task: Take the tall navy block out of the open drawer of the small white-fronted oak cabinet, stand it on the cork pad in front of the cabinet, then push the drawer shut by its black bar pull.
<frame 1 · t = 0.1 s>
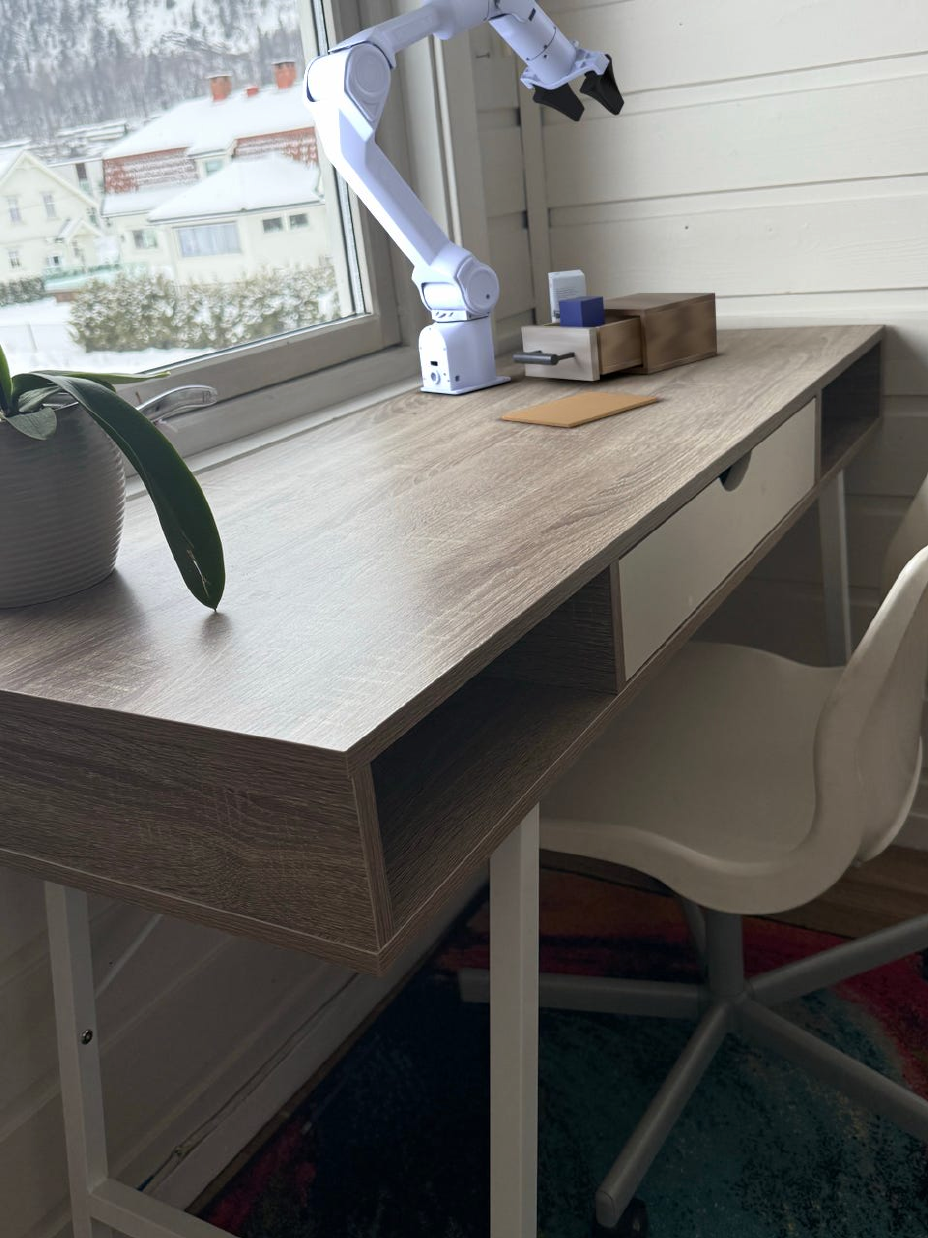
hand: (599, 111, 157), 32 cm above the table, tool tilted 50°, fingers open, 7 cm apart
navy block: (585, 362, 148), point 2 cm above the table, touching drawer
drawer: (579, 347, 146), point 4 cm above the table, slide at 8.0 cm, touching navy block
cork pad: (579, 410, 130), on the table
ink box: (572, 357, 166), on the table
cabinet: (645, 362, 154), on the table
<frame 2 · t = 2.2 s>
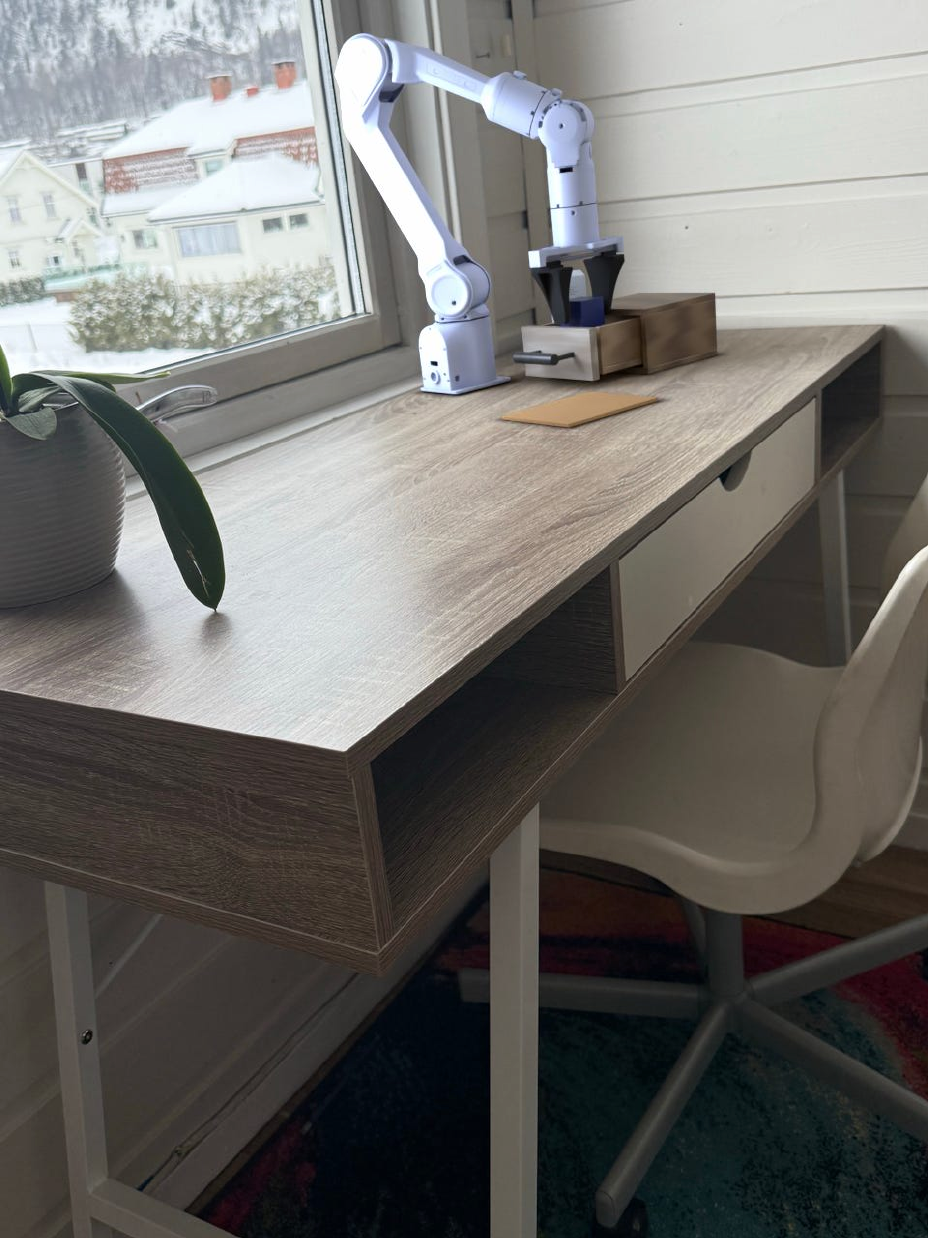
hand: (582, 318, 146), 7 cm above the table, tool pointing down, fingers open, 7 cm apart
nothing on the table moved.
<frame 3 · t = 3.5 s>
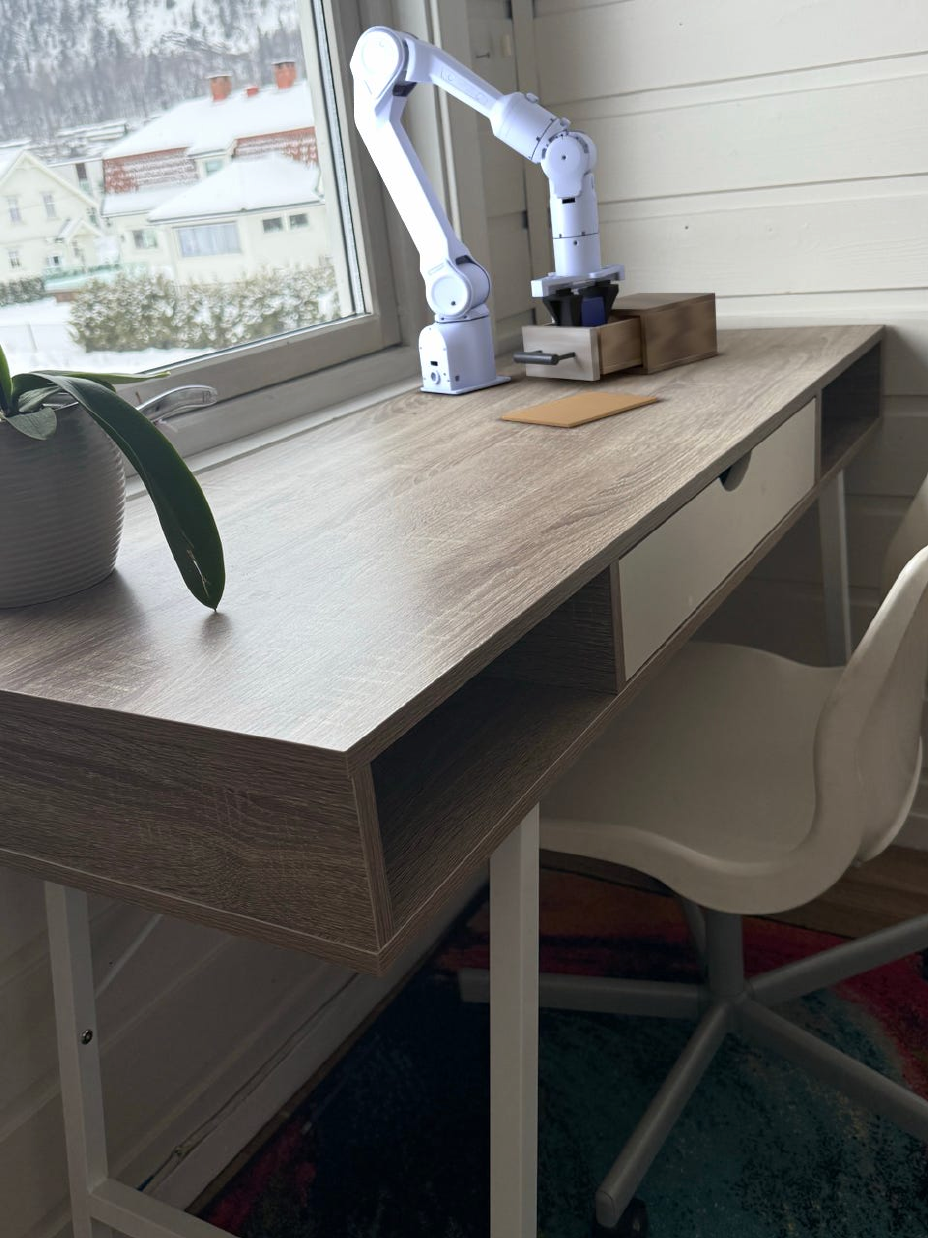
hand: (584, 346, 147), 4 cm above the table, tool pointing down, fingers closed on navy block, 4 cm apart
navy block: (585, 362, 148), point 2 cm above the table, touching drawer, gripper
everything else where it was.
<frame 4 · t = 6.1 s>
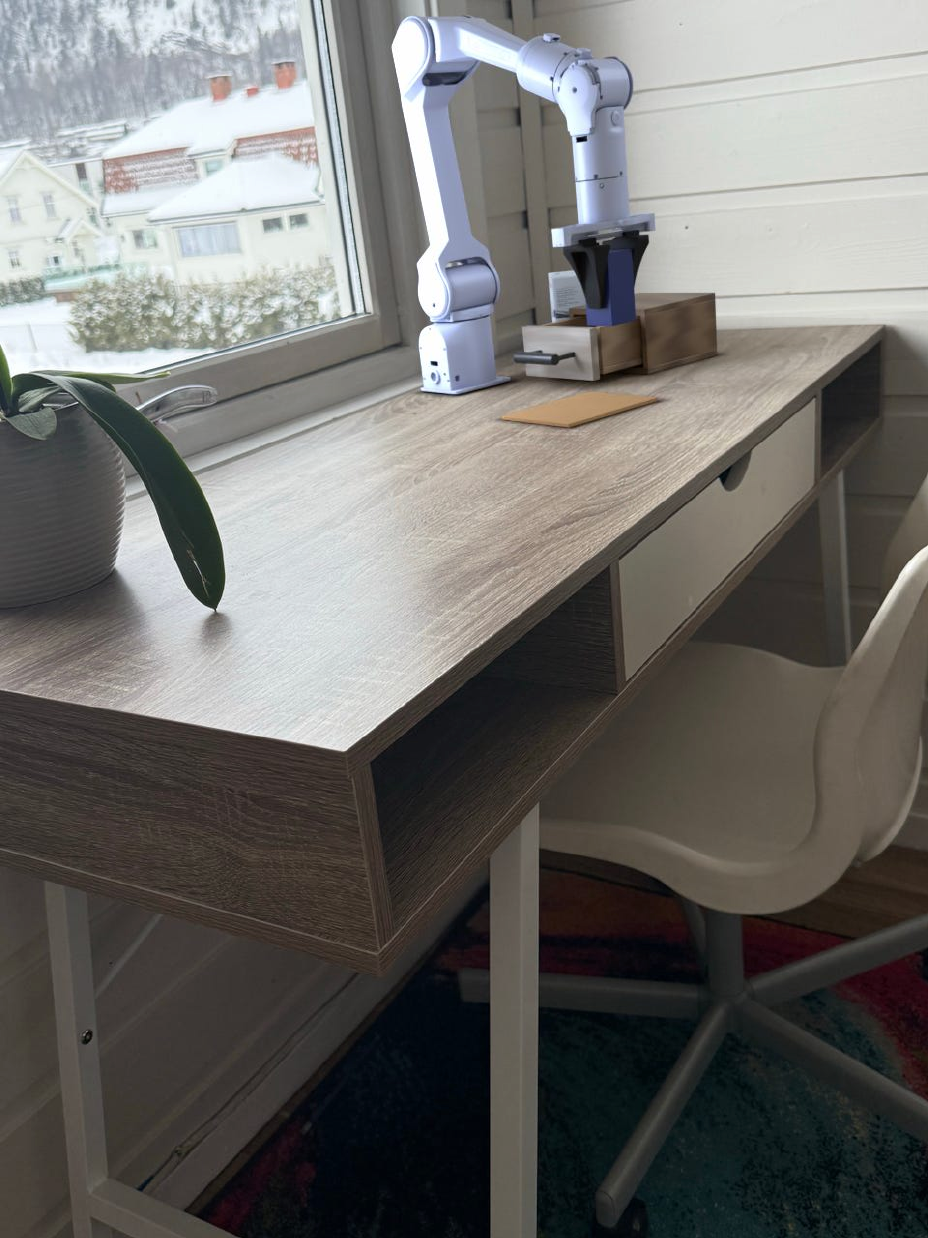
hand: (610, 305, 131), 10 cm above the table, tool pointing down, fingers closed on navy block, 4 cm apart
navy block: (611, 323, 132), point 8 cm above the table, touching gripper
drawer: (580, 347, 147), point 4 cm above the table, slide at 7.9 cm
everything else where it was.
when the fingers open (2 cm above the table, at t = 9.2 s): navy block stays where it is, resting on cork pad.
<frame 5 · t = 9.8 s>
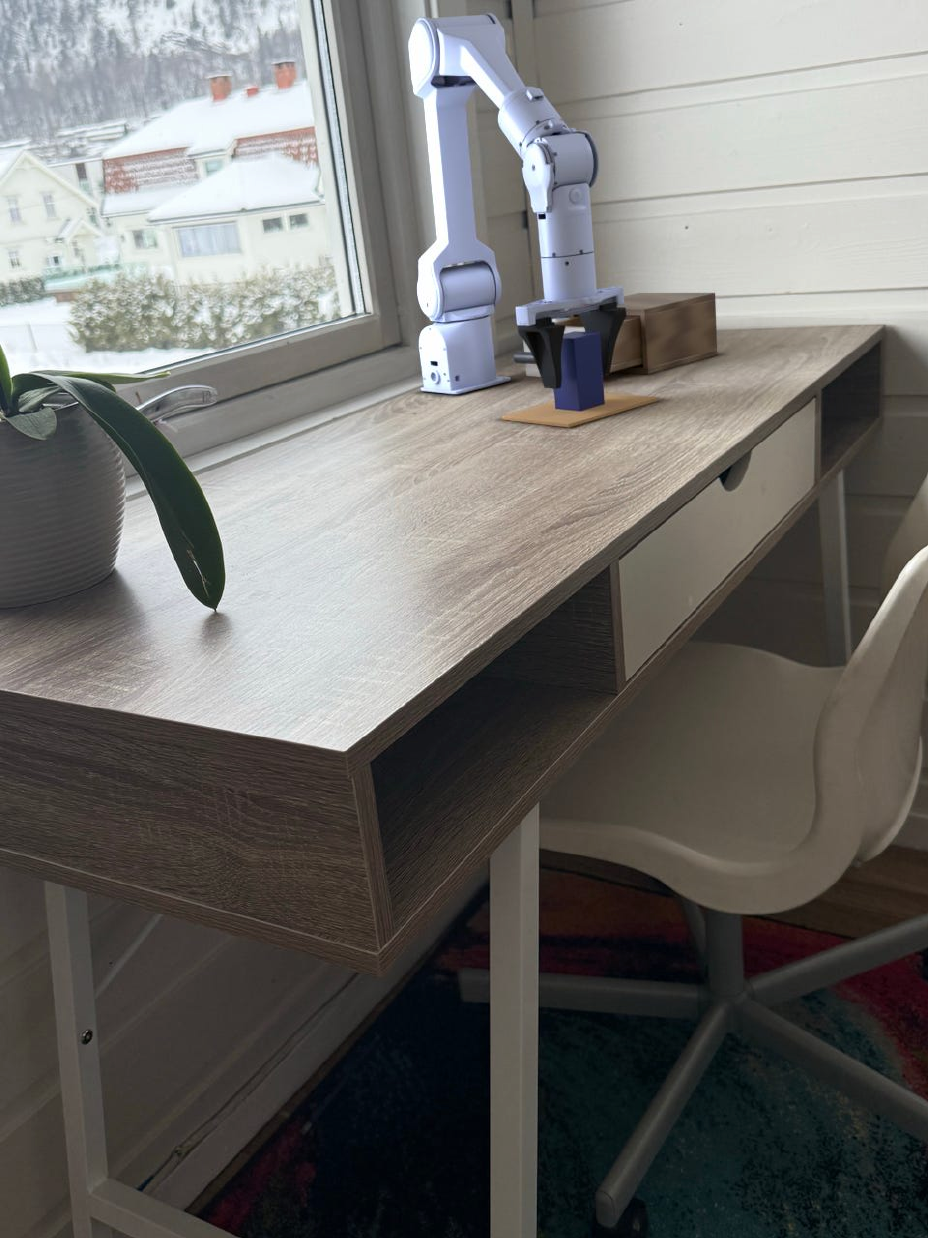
hand: (577, 380, 128), 3 cm above the table, tool pointing down, fingers open, 7 cm apart
navy block: (580, 406, 129), resting on cork pad
everything else where it was.
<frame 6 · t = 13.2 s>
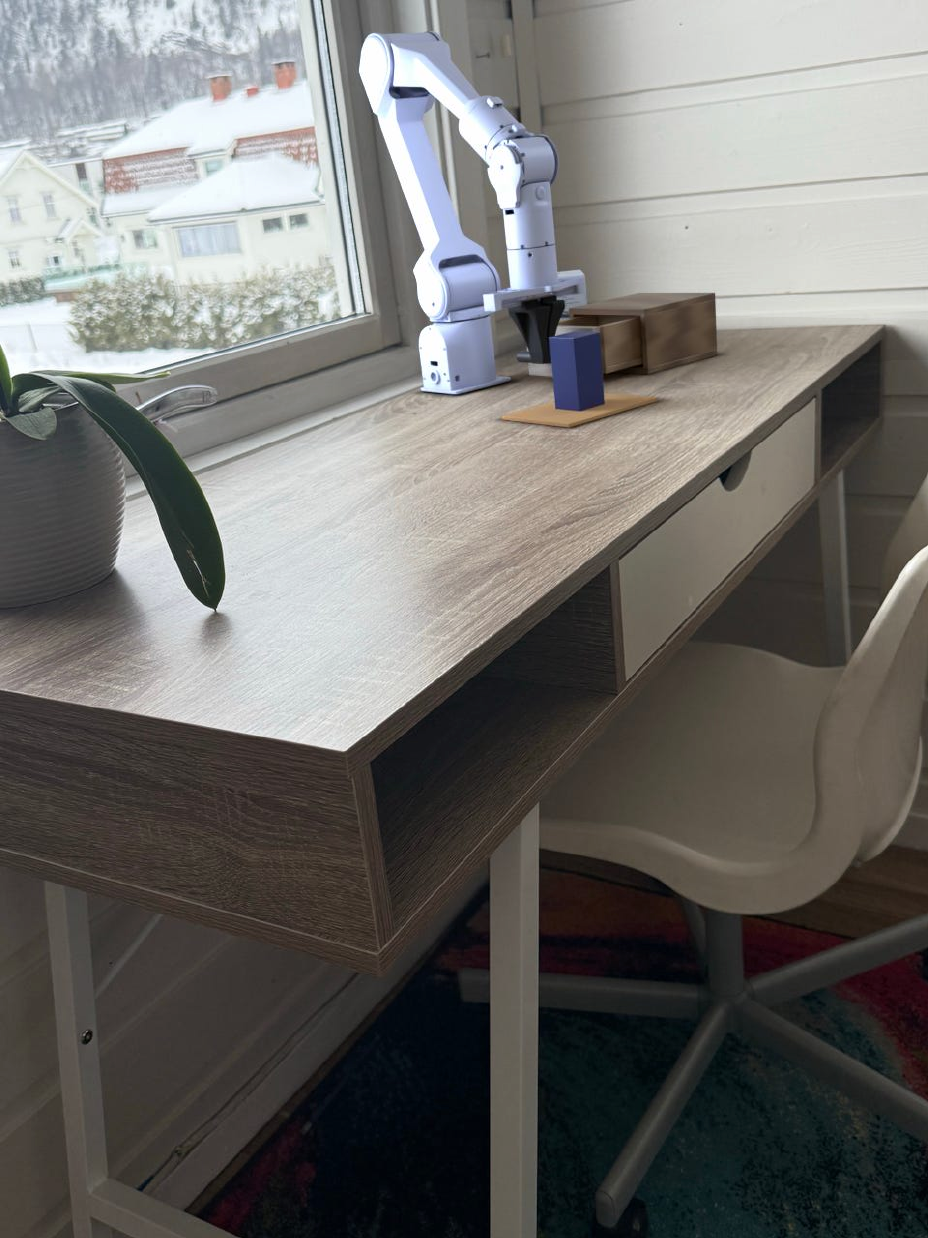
hand: (541, 362, 140), 4 cm above the table, tool pointing down, fingers closed
drawer: (583, 346, 147), point 4 cm above the table, slide at 7.4 cm
everything else where it was.
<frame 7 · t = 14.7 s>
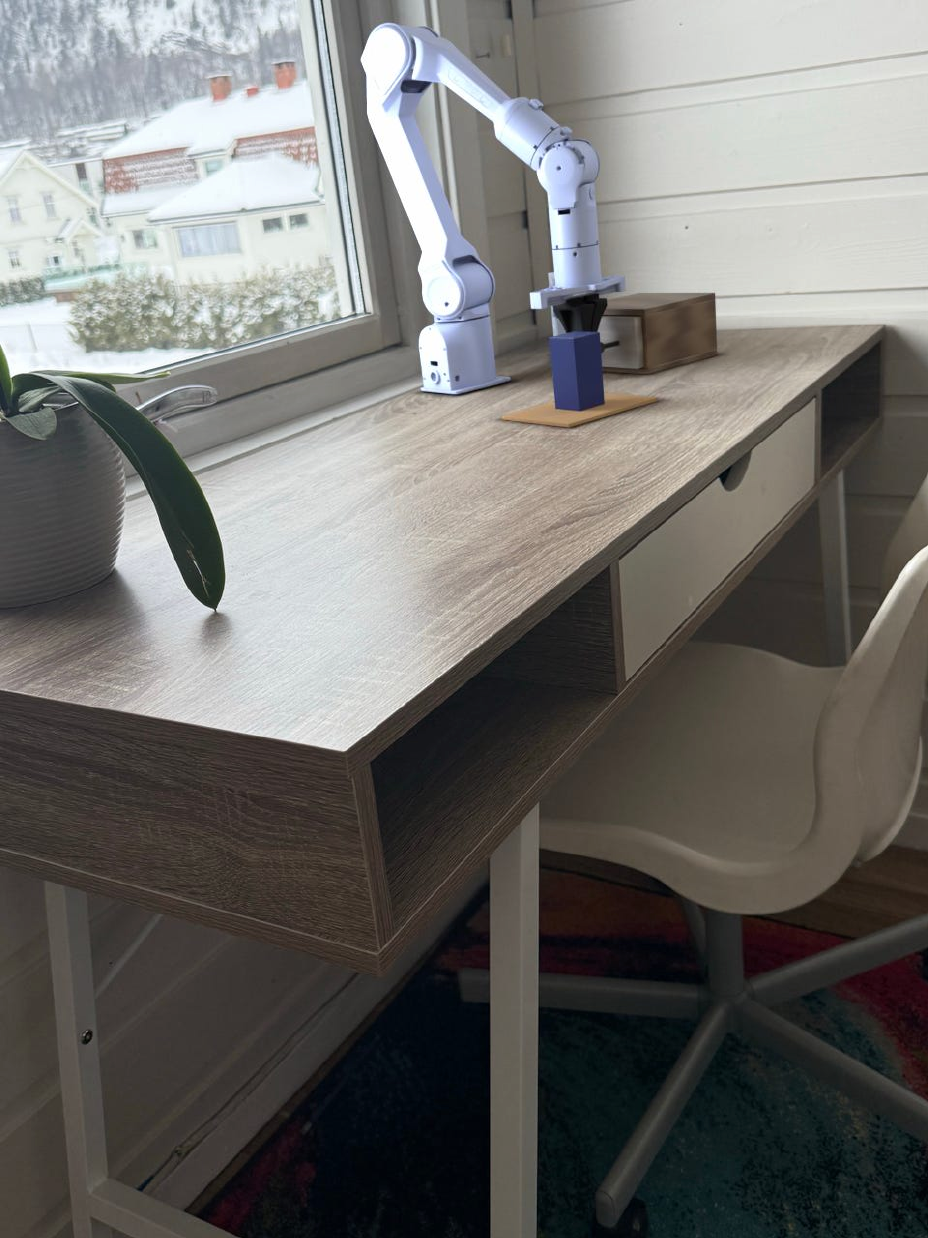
hand: (584, 358, 145), 3 cm above the table, tool pointing down, fingers closed, pressing on drawer
drawer: (623, 336, 151), point 4 cm above the table, slide at 0.0 cm, touching cabinet, gripper
everything else where it was.
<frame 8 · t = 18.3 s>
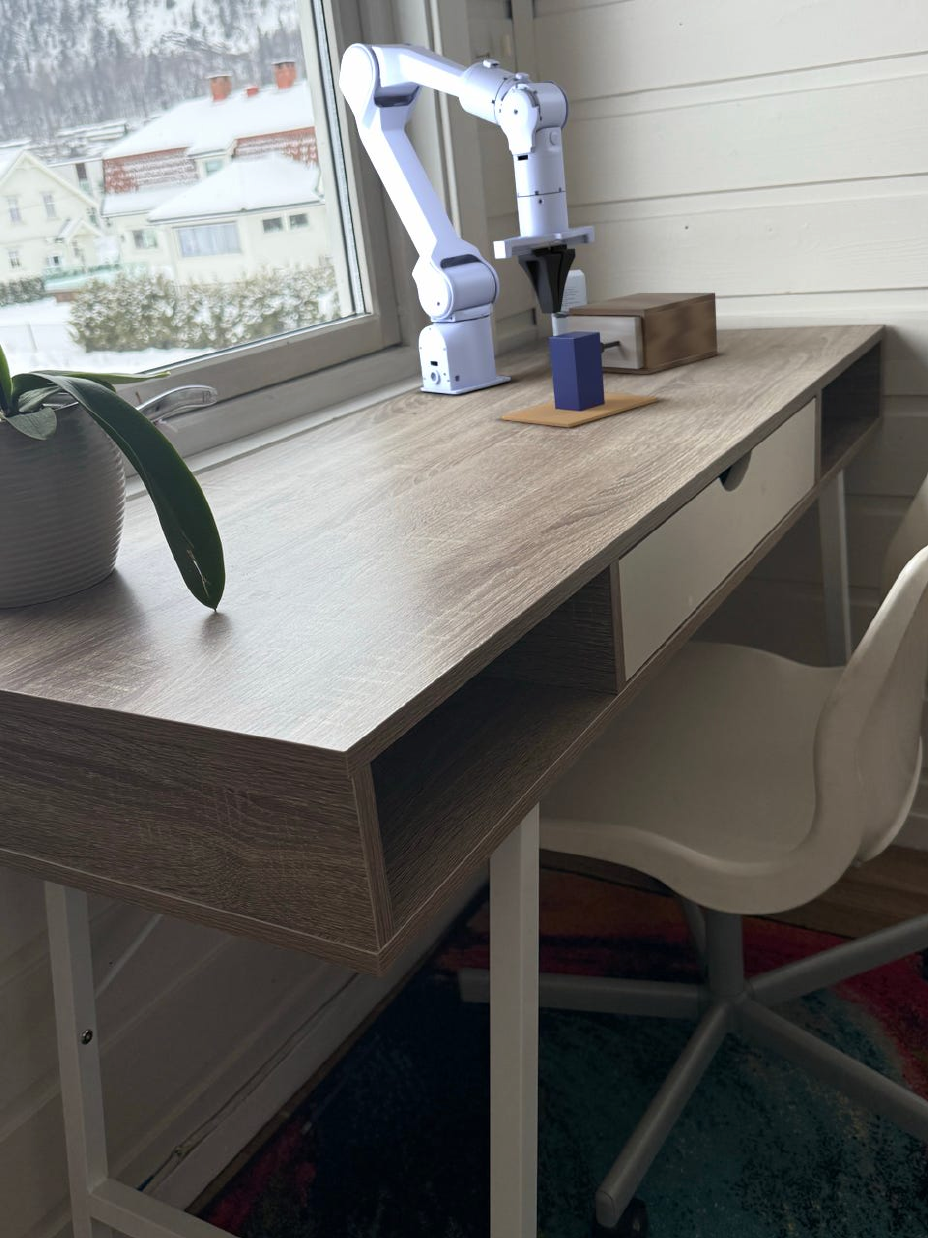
hand: (551, 312, 140), 9 cm above the table, tool pointing down, fingers closed
drawer: (623, 336, 151), point 4 cm above the table, slide at 0.0 cm, touching cabinet
everything else where it was.
at the end: navy block inside the target area on the cork pad (0.0 cm from its centre), point 0.4 cm above the cork pad's base; navy block tilted 0°; drawer slide at 0.0 cm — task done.
